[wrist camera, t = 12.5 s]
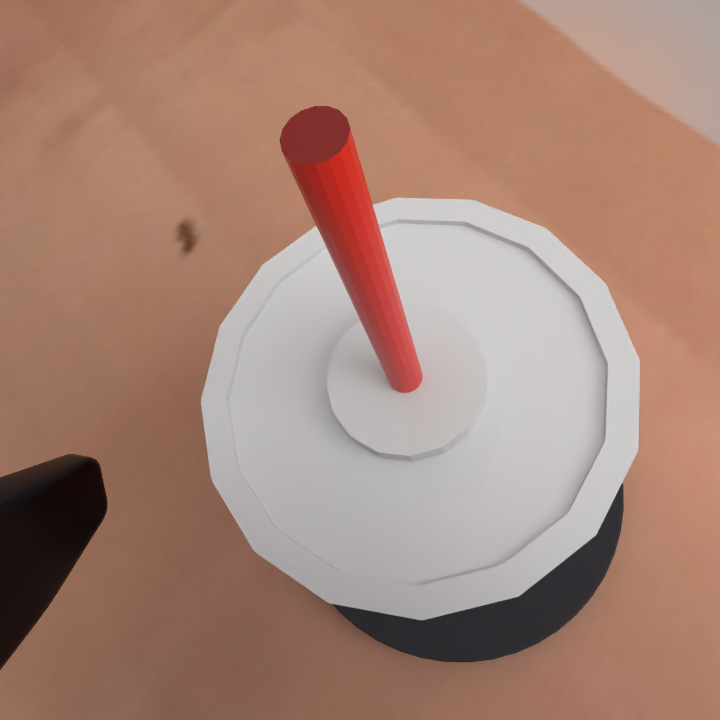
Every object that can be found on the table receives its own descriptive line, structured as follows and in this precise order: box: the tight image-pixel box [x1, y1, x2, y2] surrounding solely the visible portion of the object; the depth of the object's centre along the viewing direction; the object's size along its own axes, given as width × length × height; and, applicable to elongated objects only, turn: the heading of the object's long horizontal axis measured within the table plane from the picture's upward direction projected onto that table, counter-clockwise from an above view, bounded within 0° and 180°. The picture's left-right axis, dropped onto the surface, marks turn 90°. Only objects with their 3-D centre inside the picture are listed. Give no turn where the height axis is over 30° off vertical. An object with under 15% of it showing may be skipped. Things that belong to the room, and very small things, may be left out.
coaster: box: [333, 482, 623, 662], centre depth 17 cm, size 9×9×1 cm
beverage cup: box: [201, 106, 640, 620], centre depth 10 cm, size 6×6×14 cm
